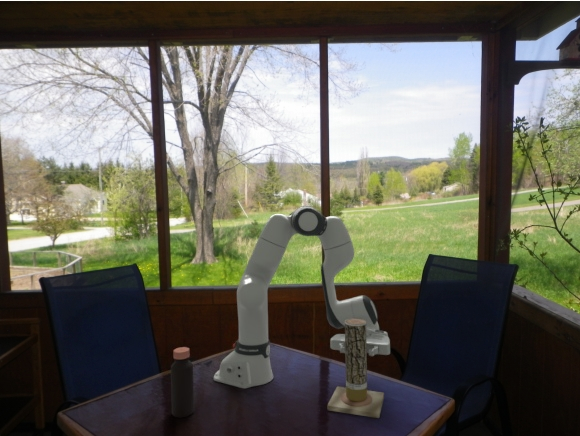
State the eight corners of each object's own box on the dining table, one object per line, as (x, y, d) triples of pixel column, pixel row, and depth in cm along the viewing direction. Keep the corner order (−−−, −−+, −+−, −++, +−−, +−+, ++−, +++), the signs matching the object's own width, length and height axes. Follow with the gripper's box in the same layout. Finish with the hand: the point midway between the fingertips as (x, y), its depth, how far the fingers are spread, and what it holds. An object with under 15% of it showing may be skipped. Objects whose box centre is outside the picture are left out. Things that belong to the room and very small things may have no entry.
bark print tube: (367, 403, 126) (366, 324, 125) (345, 402, 127) (344, 324, 126) (367, 393, 132) (366, 318, 132) (346, 392, 133) (345, 318, 133)
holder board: (327, 410, 126) (327, 404, 125) (337, 390, 139) (337, 385, 139) (379, 418, 120) (378, 412, 120) (384, 397, 133) (384, 391, 133)
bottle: (182, 420, 121) (180, 355, 120) (167, 414, 125) (165, 351, 124) (198, 410, 127) (197, 348, 126) (183, 405, 130) (182, 344, 130)
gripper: (334, 327, 146) (325, 339, 133) (391, 332, 139) (387, 345, 126) (334, 344, 146) (325, 358, 133) (392, 350, 139) (388, 365, 126)
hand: (356, 352), depth 130 cm, fingers open, 8 cm apart
